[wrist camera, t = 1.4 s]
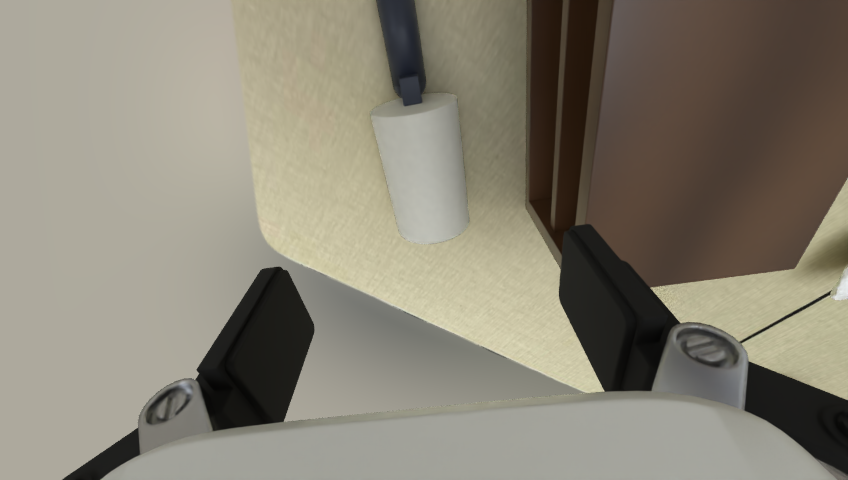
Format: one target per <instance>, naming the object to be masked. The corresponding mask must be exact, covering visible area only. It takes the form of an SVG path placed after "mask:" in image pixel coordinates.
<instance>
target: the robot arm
mask: <svg viewBox="0 0 848 480" xmlns="http://www.w3.org/2000/svg"><path fill="white" fill-rule="evenodd" d="M559 298H560V302H561V305H562V307H563V309H564V311H565V313H566V315H567V317H568V319H569V321H570V323H571V325H572V327H573V329H574V331H575V333H576V335H577V337H578V339H579V341H580V343H581V345H582V347H583V349H584V351H585V353H586V355H587V357H588V359H589V361H590V363H591V365H592V367H593V369H594V371H595V373H596V375H597V377H598V379H599V381H600V383H601V385H602V387H603V389H604V391H605V392H596V393H582V394H571V395H570V394H569V395H556V396H545V397H533V398H522V399H512V400H501V401H491V402H479V403H469V404H458V405H449V406H437V407H427V408H418V409H408V410H397V411H387V412H376V413H366V414H357V415H347V416H337V417H328V418H318V419H308V420H299V421H289V422H284V419H285V416H286V413H287V410H288V407H289V404H290V402H291V399H292V396H293V393H294V390H295V387H296V384H297V381H298V378H299V375H300V372H301V370H302V367H303V364H304V361H305V358H306V355H307V352H308V349H309V346H310V343H311V341H312V338H313V335H314V324H313V321H312V319H311V317H310V315H309V313H308V311H307V309H306V308H305V305H304V303H303V301H302V299H301V297H300V295H299V293H298V291H297V289H296V287H295V285H294V283H293V281H292V279H291V277H290V275H289V273H288V271H287V270H283V269H282V268H281V267H273V268H266V269H262V270H261V271H260V272H259V274H258V275H257V277H256V279H255V280H254V282H253V283H252V285H251V286H250V288H249V289H248V291H247V292H246V294H245V295H244V297H243V299H242V300H241V302H240V303H239V305H238V306H237V308H236V309H235V311H234V312H233V314H232V316H231V317H230V319H229V320H228V322H227V323H226V325H225V326H224V328H223V330H222V331H221V333H220V334H219V336H218V337H217V339H216V340H215V342H214V344H213V345H212V347H211V348H210V350H209V351H208V353H207V354H206V356H205V358H204V359H203V361H202V362H201V364H200V365H199V367H198V368H197V371H198V372H199V375H198V377H197V378H196V380H194V379H192V378H189V379H182V380H178V381H175V382H173V383H171V384H169V385H167V386H166V387H164V388H163V389H161V390H160V391H158V392H157V393H156V394H155V395H154V396H153V397H152V398H151V399H150V400H149V401H148V402H147V403H146V405H145V406H144V408H143V409H142V411H141V413H140V415H139V420H138V428H137V429H135V430H134V431H133V432H131V433H130V434H128V435H127V436H125V437H124V438H122V439H121V440H120V441H118V442H116V443H115V444H114V445H112V446H111V447H109V448H108V449H106V450H105V451H103V452H102V453H100V454H99V455H97V456H96V457H94V458H93V459H92V460H90V461H89V462H87V463H86V464H84V465H83V466H81V467H80V468H78V469H77V470H76V471H74V472H72V473H71V474H70V475H68V476H67V477H65V478H64V479H63V480H848V400H845V399H843V398H840V397H838V396H835V395H833V394H830V393H828V392H825V391H823V390H820V389H818V388H815V387H812V386H810V385H807V384H805V383H802V382H800V381H797V380H795V379H792V378H790V377H787V376H784V375H782V374H779V373H777V372H774V371H772V370H769V369H767V368H764V367H762V366H759V365H757V364H754V363H751V362H749V360H748V355H747V352H746V350H745V349H744V347H743V346H742V344H741V343H740V342H738V341H737V340H736V339H735V338H734V337H733V336H731V335H729V334H728V333H726V332H724V331H723V330H721V329H718V328H716V327H713V326H711V325H707V324H702V323H695V322H686V323H680V322H679V321H678V320H677V319H676V318H675V316H674V315H673V314H672V313H671V312H670V311H669V309H668V308H667V307H666V306H665V305H664V304H663V302H662V301H661V300H660V299H659V298H658V297H657V295H656V294H655V293H654V292H653V291H652V290H651V289H650V287H649V286H648V285H647V284H646V283H645V282H644V280H643V279H642V278H641V277H640V276H639V275H638V273H637V272H636V271H635V270H634V269H633V268H632V266H631V265H630V264H629V263H627V262H626V261H623V260H622V261H621V259H620V258H619V257H618V256H617V255H616V253H615V252H614V251H613V250H612V249H611V248H610V246H609V245H608V244H607V243H606V242H605V240H604V239H603V238H602V237H601V236H600V234H599V233H598V232H597V231H596V230H595V229H594V227H593V226H592V225H591V224H584V225H576V226H571V227H570V229H569V231H565V232H564V236H563V248H562V260H561V273H560V286H559Z"/></svg>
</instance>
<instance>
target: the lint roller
mask: <svg viewBox="0 0 848 480" xmlns="http://www.w3.org/2000/svg"><path fill="white" fill-rule="evenodd" d="M376 1H377V6H378V12H379V17H380V22H381V27H382V32H383V37H384V42H385V47H386V52H387V57H388V62H389V67H390V72H391V77H392V82H393V87H394V90H395V92H396V93H397V95H398V96H399V97H400V98H399V99H395V100H392V101H389V102H386V103H383V104H381V105H379V106H377V107H375V108H374V109H372V110H371V112H370V116H371V120H372V124H373V128H374V132H375V136H376V141H377V145H378V149H379V153H380V157H381V161H382V165H383V169H384V173H385V178H386V182H387V186H388V190H389V194H390V198H391V202H392V206H393V210H394V214H395V219H396V223H397V227H398V231H399V234H400V235H401V236H402V237H403V238H404V239H405V240H407V241H409V242H413V243H417V244H435V243H440V242H444V241H447V240H450V239H452V238H455V237H456V236H458V235H460V234H461V233H462V232H463V231H464V230H465V229H466V228H467V226H468V224H469V210H468V200H467V190H466V180H465V170H464V160H463V150H462V140H461V130H460V121H459V111H458V101H457V96H456V95H454V94H450V93H427V94H423V92H424V90H425V87H426V77H425V70H424V63H423V56H422V49H421V43H420V36H419V29H418V22H417V15H416V8H415V1H414V0H376Z"/></svg>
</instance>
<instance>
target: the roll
mask: <svg viewBox="0 0 848 480" xmlns="http://www.w3.org/2000/svg"><path fill="white" fill-rule="evenodd" d="M830 294H831V296H830V297H831V298H832V299H834V300H843V299H848V264H847V265H846V267H845V269H844V271H843V273H842V275H841V277H840V278H839V281H838V282H837V284H836V285H835V287H833V290H832V292H831V293H830Z"/></svg>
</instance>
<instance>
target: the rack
mask: <svg viewBox="0 0 848 480" xmlns="http://www.w3.org/2000/svg"><path fill="white" fill-rule="evenodd" d="M847 178H848V0H527V82H526V210H527V211H528V213H529V215H530V216H531V218H532V220H533V222H534V223H535V225H536V227H537V229H538V230H539V232H540V234H541V236H542V237H543V239H544V241H545V243H546V244H547V246H548V248H549V250H550V251H551V253H552V255H553V257H554V258H555V260H556V262H557V264H558V265H559V267H560V269H561V260H562V248H563V236H564V232H565V231H569V229H570V227H571V226H576V225H584V224H591V225H592V226H593V227H594V229H595V230H596V231H597V232H598V233H599V234H600V236H601V237H602V238H603V239H604V240H605V242H606V243H607V244H608V245H609V246H610V248H611V249H612V250H613V251H614V252H615V253H616V255H617V256H618V257H619V258H620V259H621V261H622V260H623V261H626V262H627V263H629V264H630V265H631V266H632V268H633V269H634V270H635V271H636V272H637V273H638V275H639V276H640V277H641V278H642V279H643V280H644V282H645V283H646V284H647V285H648V286H649V287H657V286H665V285H673V284H680V283H688V282H696V281H704V280H711V279H719V278H727V277H735V276H743V275H750V274H758V273H766V272H774V271H782V270H789V269H794V268H795V267H796V266H797V264H798V262H799V261H800V259H801V257H802V255H803V254H804V252H805V250H806V249H807V247H808V245H809V243H810V242H811V240H812V238H813V237H814V235H815V233H816V231H817V230H818V228H819V226H820V225H821V223H822V221H823V219H824V218H825V216H826V214H827V213H828V211H829V209H830V207H831V206H832V204H833V202H834V201H835V199H836V197H837V195H838V194H839V192H840V190H841V188H842V187H843V185H844V183H845V182H846V180H847Z"/></svg>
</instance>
